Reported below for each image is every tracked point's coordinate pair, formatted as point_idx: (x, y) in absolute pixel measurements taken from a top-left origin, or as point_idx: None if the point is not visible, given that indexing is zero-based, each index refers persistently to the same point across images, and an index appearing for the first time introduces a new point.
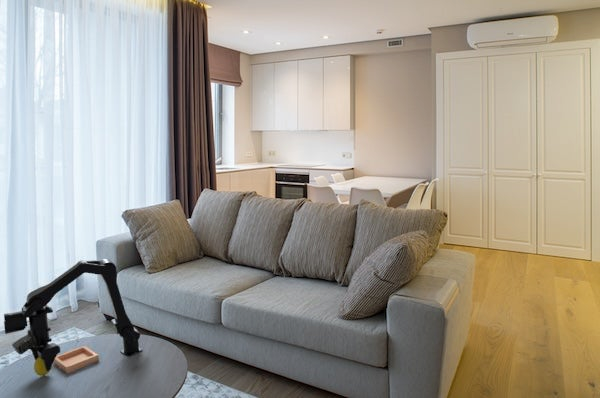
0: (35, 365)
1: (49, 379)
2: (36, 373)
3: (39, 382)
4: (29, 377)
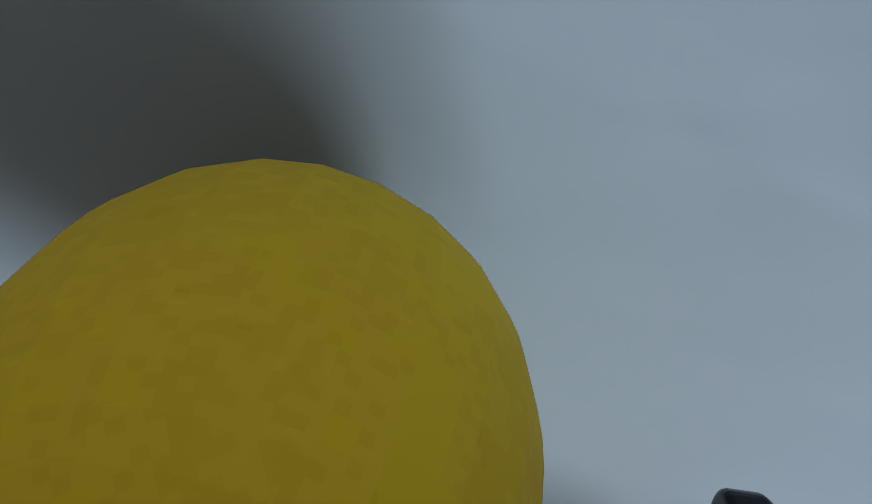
0: (95, 341)
1: (51, 237)
2: (268, 159)
3: (72, 29)
4: (628, 15)
